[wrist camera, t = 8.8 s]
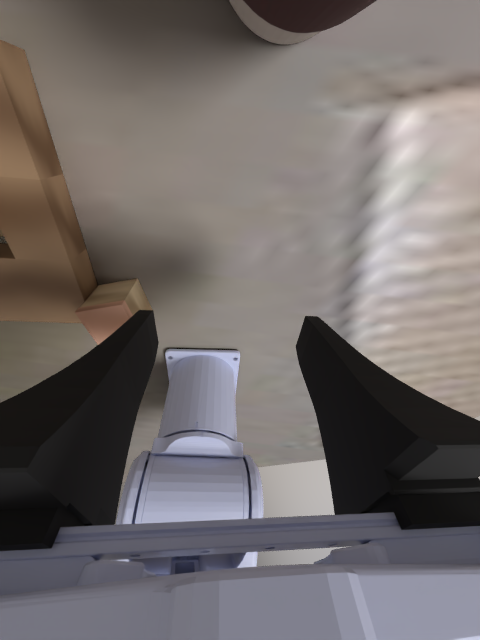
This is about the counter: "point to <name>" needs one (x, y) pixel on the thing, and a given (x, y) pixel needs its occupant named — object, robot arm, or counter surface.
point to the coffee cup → (295, 17)
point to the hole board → (35, 209)
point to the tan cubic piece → (111, 307)
